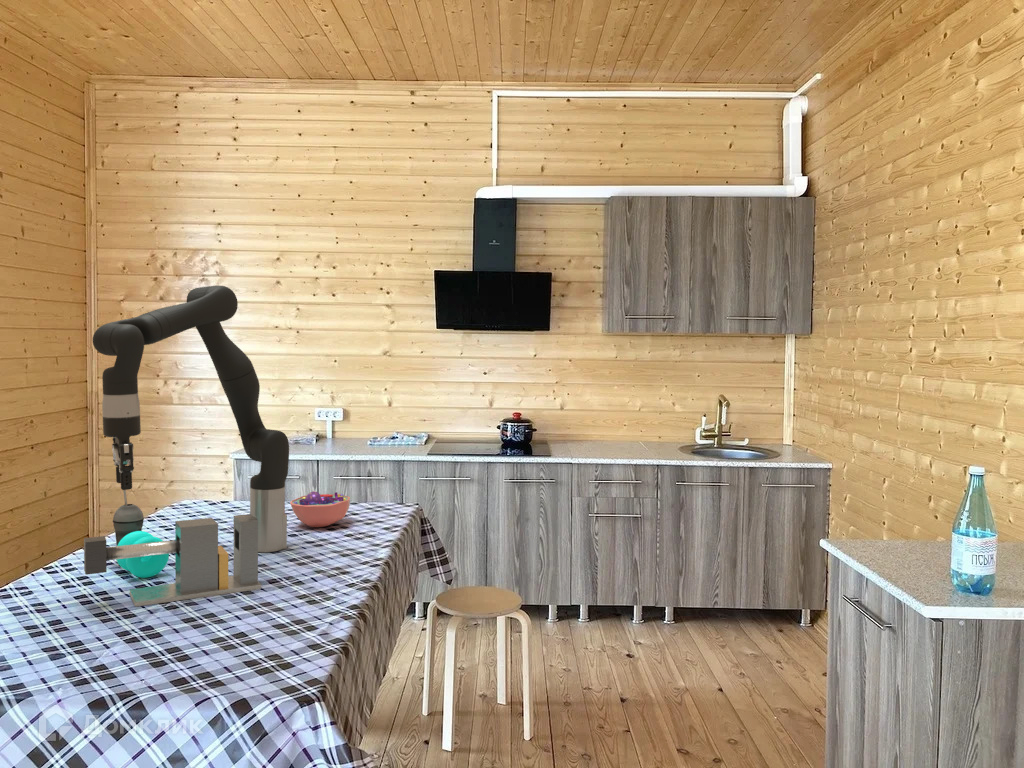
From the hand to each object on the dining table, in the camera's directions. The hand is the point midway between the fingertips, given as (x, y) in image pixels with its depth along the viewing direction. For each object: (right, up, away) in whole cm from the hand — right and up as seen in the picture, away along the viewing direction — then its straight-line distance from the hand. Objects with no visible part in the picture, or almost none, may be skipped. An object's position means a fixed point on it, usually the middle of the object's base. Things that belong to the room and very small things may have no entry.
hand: (124, 485), depth 179 cm
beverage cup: (-11, -24, +25) cm, 36 cm away
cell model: (+27, -22, +72) cm, 80 cm away
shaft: (+6, -18, 0) cm, 18 cm away
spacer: (+19, -24, +8) cm, 31 cm away
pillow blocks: (+14, -25, +5) cm, 29 cm away
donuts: (-4, -24, +18) cm, 30 cm away
